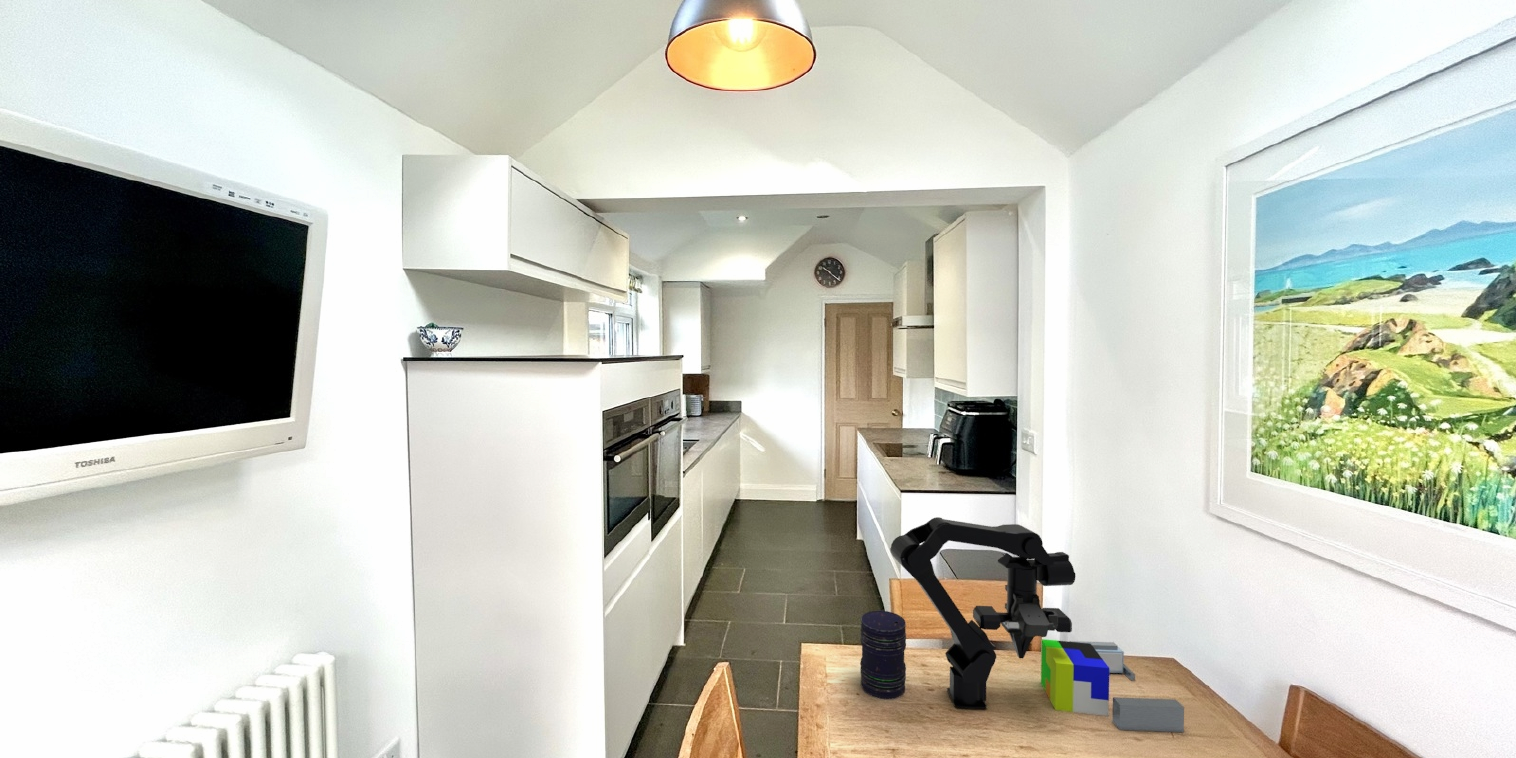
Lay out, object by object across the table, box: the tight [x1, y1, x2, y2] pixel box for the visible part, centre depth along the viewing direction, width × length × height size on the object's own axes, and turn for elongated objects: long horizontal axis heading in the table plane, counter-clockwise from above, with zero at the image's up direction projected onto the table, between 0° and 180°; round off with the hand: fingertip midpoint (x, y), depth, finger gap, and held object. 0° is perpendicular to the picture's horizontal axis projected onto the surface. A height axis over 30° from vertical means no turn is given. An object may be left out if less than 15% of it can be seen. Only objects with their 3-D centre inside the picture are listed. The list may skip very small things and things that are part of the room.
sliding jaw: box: [1069, 640, 1125, 674], centre depth 130 cm, size 12×3×6 cm, turn 86°
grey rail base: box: [1111, 663, 1185, 733], centre depth 121 cm, size 14×25×5 cm, turn 176°
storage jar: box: [859, 610, 907, 700], centre depth 124 cm, size 10×10×15 cm
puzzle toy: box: [1040, 638, 1110, 717], centre depth 119 cm, size 10×10×10 cm
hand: (1020, 657), depth 120 cm, fingers closed
